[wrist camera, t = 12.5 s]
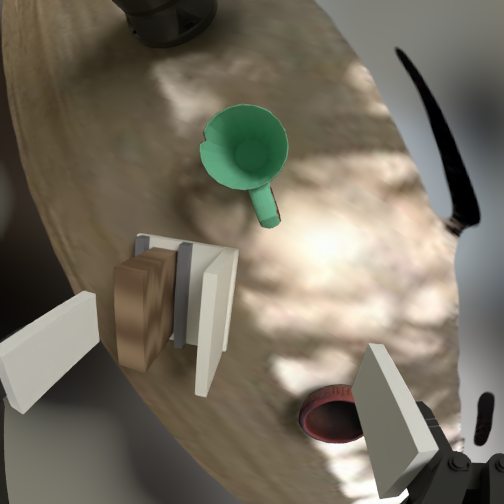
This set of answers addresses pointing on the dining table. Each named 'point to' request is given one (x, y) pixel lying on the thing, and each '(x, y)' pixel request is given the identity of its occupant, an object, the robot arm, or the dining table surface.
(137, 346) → the door slab
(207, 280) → the track sill
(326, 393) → the bowl
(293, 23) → the dining table surface
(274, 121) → the mug
